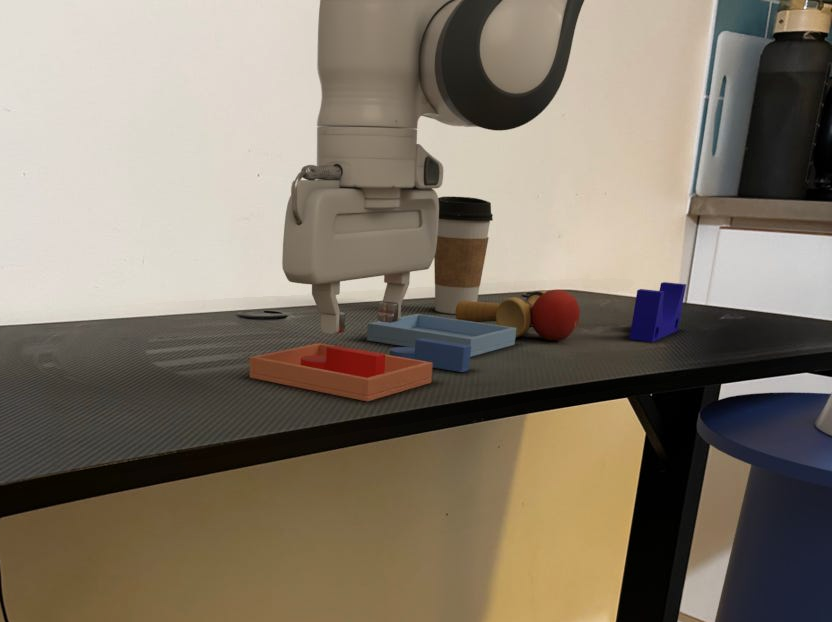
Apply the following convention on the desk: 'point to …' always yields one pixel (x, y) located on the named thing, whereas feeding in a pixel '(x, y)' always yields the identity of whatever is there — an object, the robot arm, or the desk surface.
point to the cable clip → (657, 312)
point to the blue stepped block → (437, 354)
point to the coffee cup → (460, 250)
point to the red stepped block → (348, 361)
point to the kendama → (528, 313)
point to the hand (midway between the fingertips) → (361, 327)
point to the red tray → (339, 374)
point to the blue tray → (442, 332)
